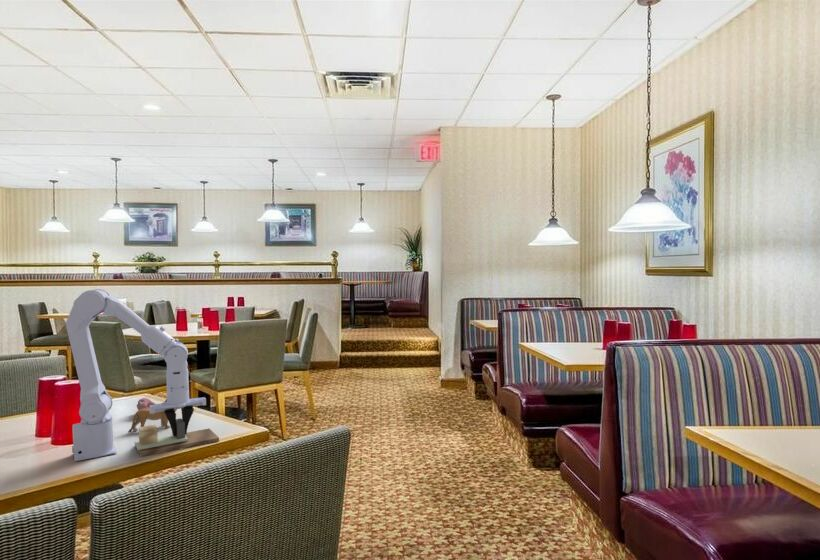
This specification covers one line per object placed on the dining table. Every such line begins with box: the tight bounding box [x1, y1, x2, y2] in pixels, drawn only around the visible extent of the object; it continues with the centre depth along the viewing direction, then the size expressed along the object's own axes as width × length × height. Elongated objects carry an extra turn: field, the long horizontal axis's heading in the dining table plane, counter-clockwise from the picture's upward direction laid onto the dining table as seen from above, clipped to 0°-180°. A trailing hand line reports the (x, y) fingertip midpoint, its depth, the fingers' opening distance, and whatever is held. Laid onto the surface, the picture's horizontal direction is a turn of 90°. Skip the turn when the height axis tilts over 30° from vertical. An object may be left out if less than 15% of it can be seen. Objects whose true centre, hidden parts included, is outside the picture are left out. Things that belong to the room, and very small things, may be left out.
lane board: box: [134, 428, 220, 458], centre depth 151 cm, size 20×11×1 cm, turn 124°
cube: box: [138, 424, 159, 446], centre depth 146 cm, size 4×4×4 cm
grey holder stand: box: [134, 417, 188, 451], centre depth 148 cm, size 12×7×5 cm, turn 124°
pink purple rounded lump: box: [136, 397, 156, 411], centre depth 182 cm, size 10×5×7 cm, turn 18°
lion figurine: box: [127, 398, 178, 433], centre depth 165 cm, size 15×5×9 cm, turn 131°
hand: (179, 434), depth 151 cm, fingers closed on grey holder stand, 2 cm apart
